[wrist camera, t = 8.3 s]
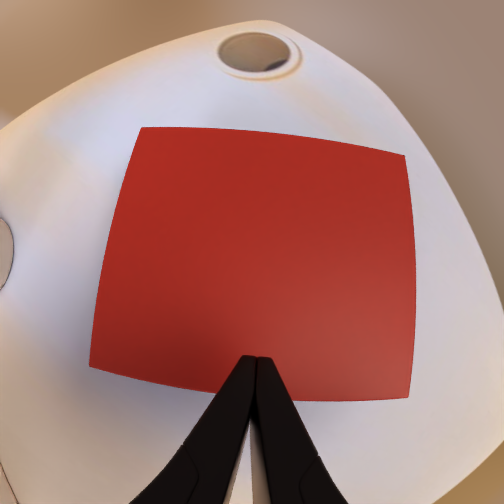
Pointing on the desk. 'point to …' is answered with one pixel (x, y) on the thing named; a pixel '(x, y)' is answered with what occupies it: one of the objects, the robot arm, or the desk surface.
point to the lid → (260, 264)
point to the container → (5, 490)
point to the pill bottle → (5, 252)
